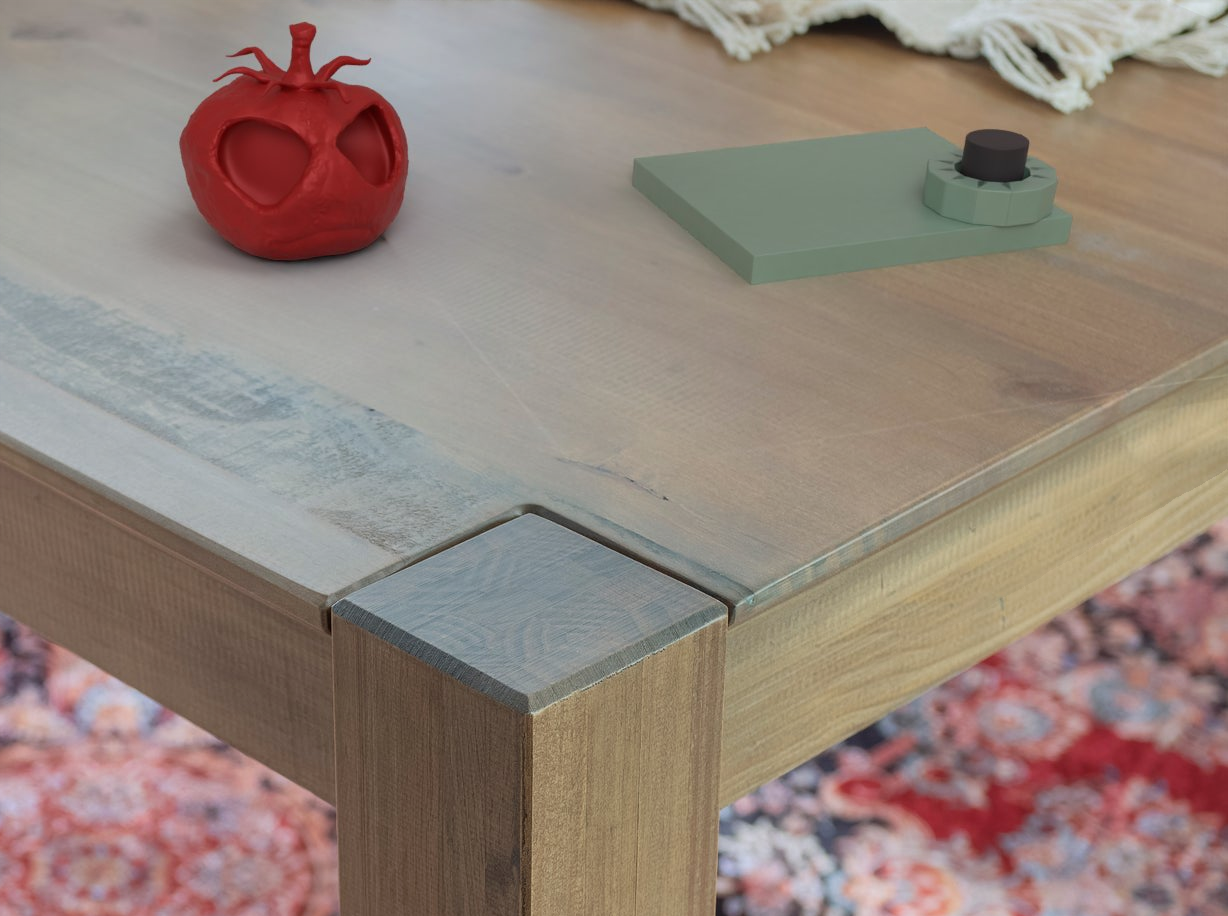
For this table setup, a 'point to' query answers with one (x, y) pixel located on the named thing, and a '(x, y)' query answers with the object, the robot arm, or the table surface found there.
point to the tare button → (994, 155)
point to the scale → (849, 204)
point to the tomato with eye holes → (295, 157)
